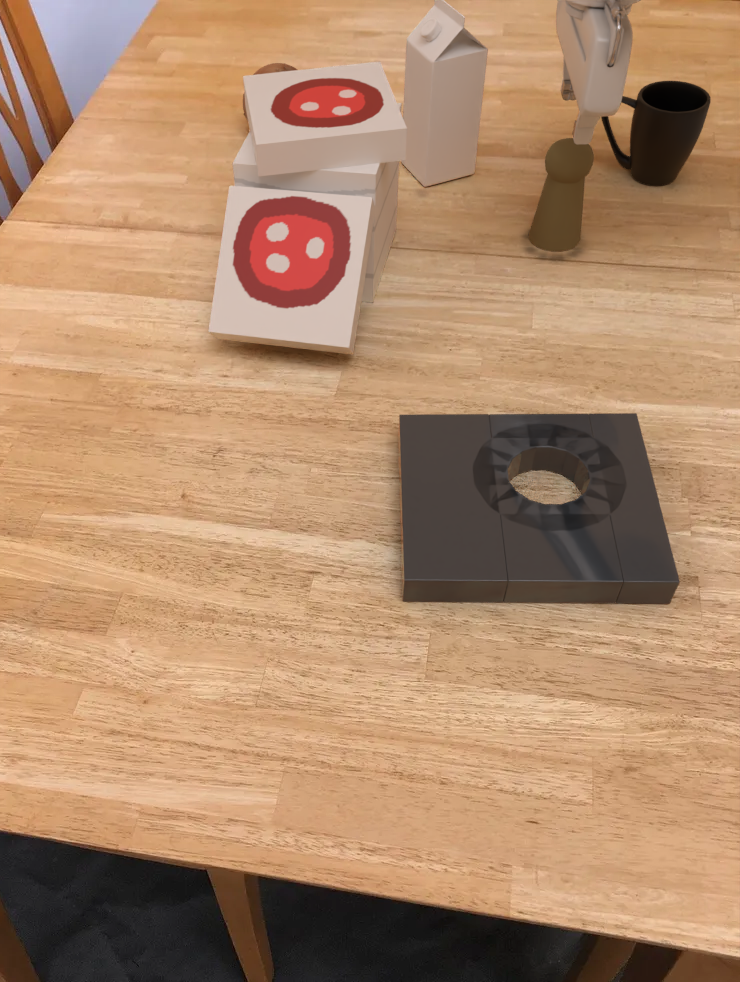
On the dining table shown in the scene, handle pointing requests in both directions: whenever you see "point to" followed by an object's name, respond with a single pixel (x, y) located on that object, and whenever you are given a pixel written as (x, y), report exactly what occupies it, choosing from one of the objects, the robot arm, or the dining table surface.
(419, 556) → the drain plate
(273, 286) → the pizza boxes
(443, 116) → the milk carton
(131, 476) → the dining table surface
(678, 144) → the mug
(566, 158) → the brown pawn shaped plug
